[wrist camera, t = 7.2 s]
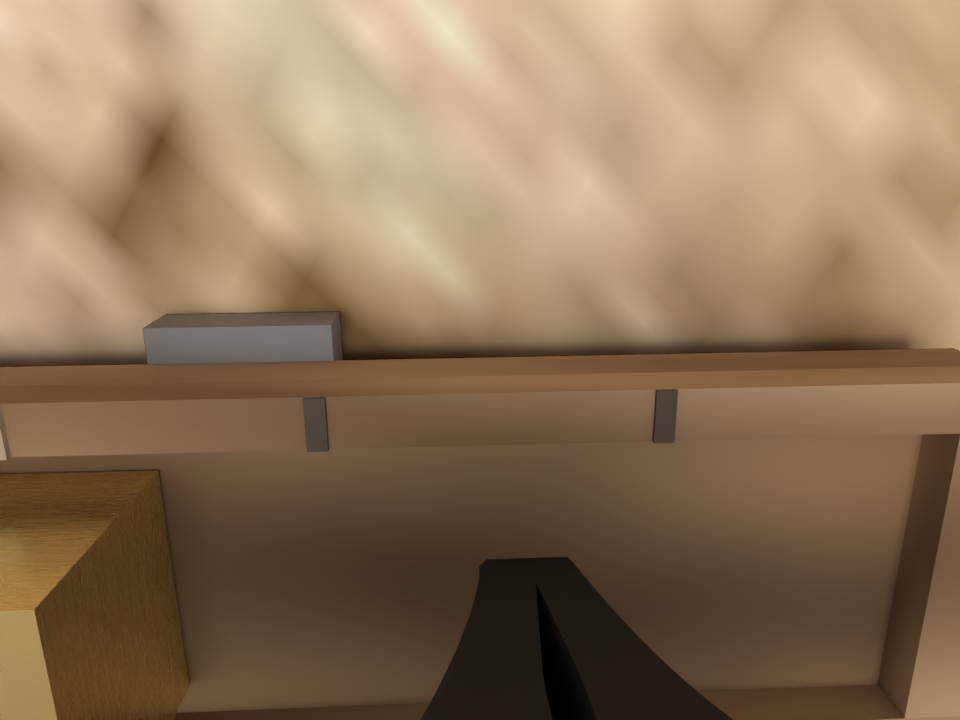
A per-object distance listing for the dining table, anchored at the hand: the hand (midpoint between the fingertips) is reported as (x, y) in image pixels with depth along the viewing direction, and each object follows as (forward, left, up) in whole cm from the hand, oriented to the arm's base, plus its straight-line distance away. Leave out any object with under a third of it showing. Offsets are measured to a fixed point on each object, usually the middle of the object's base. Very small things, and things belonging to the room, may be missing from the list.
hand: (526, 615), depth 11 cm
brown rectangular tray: (0, +5, -3) cm, 6 cm away
